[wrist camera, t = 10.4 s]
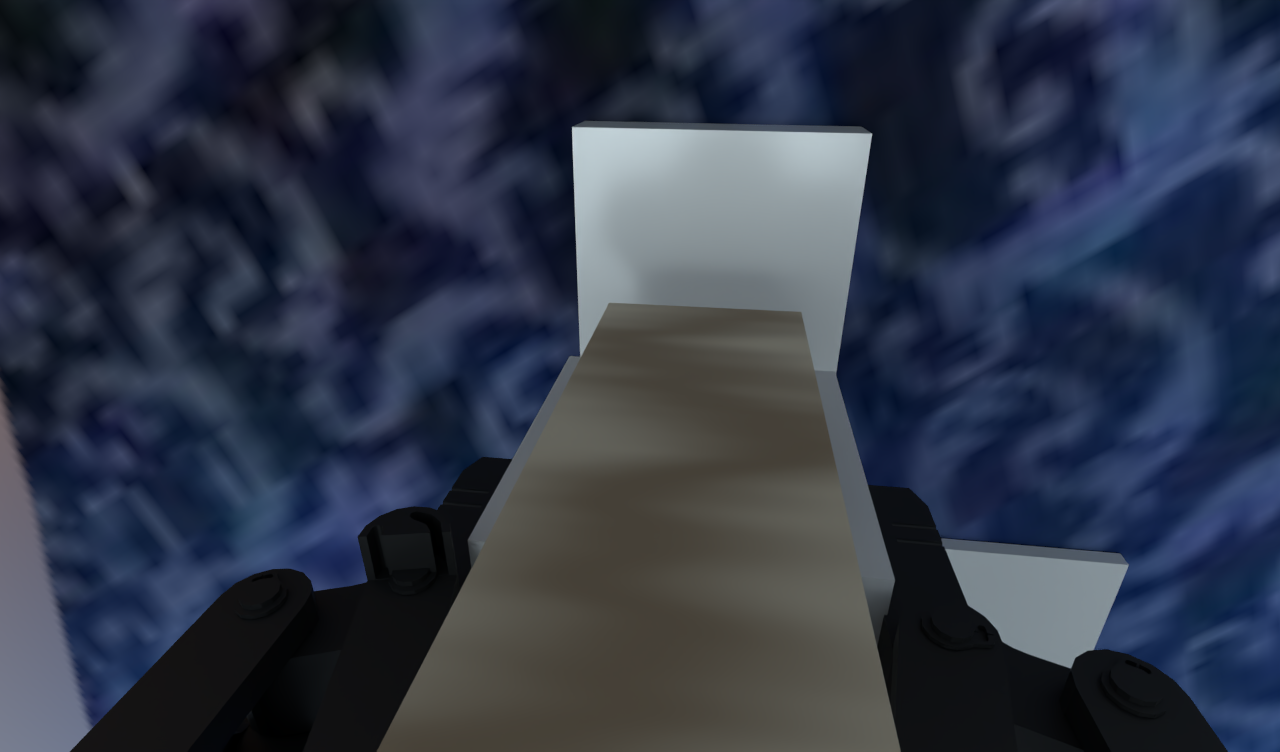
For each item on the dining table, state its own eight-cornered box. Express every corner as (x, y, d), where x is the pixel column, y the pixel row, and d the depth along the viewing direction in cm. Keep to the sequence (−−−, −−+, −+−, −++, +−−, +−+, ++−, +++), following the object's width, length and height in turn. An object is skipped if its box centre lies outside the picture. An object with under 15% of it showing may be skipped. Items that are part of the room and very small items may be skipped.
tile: (827, 431, 21) (871, 133, 18) (582, 413, 22) (572, 127, 18) (820, 398, 23) (859, 124, 19) (595, 383, 24) (588, 119, 20)
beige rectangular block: (801, 311, 16) (978, 1089, 4) (782, 474, 17) (864, 1309, 6) (609, 302, 16) (267, 963, 4) (612, 461, 18) (380, 1203, 6)
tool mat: (1045, 738, 28) (1051, 751, 28) (804, 710, 30) (805, 722, 29) (1120, 553, 24) (1128, 565, 23) (833, 528, 25) (834, 539, 25)
